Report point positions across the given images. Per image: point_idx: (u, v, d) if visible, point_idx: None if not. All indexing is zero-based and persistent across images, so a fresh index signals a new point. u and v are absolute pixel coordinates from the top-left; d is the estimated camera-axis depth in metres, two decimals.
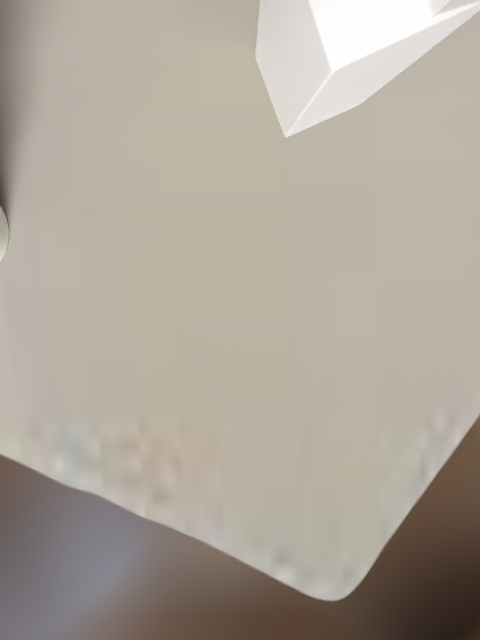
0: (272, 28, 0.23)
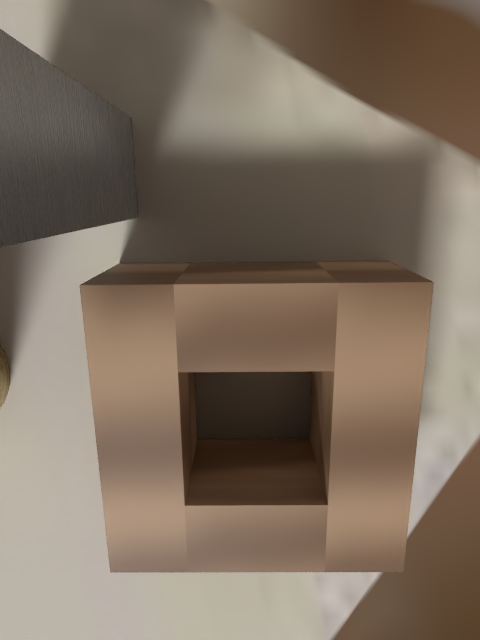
0: None
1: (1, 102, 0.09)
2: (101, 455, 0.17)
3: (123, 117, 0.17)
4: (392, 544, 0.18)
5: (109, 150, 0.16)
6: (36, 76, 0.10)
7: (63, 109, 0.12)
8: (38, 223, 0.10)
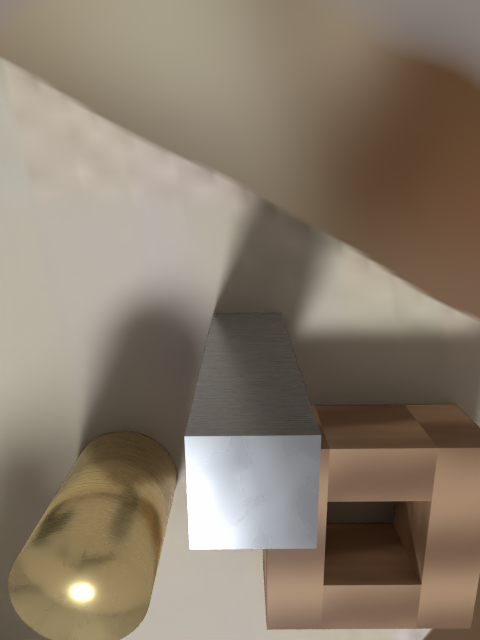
0: None
1: None
2: (270, 553, 0.25)
3: None
4: (464, 610, 0.26)
5: None
6: None
7: None
8: None
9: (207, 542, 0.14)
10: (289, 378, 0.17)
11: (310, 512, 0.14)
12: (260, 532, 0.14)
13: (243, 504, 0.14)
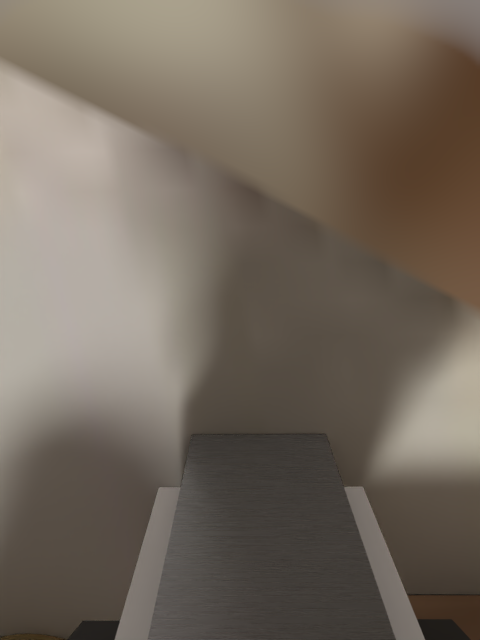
0: None
1: None
2: None
3: None
4: None
5: None
6: None
7: None
8: None
9: None
10: None
11: None
12: None
13: None
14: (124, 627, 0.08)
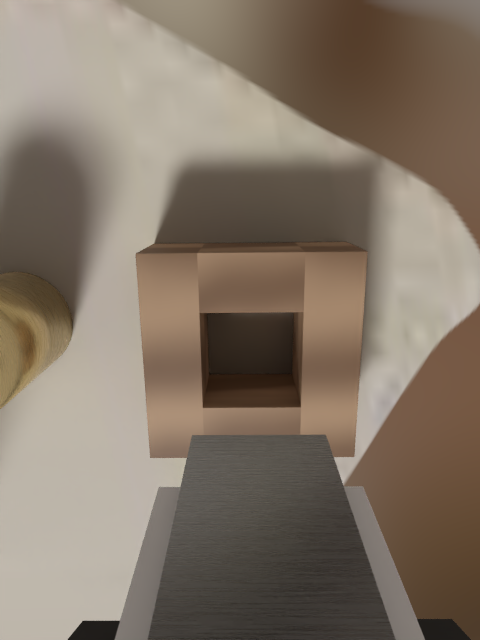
0: None
1: None
2: (146, 371, 0.25)
3: None
4: (346, 436, 0.26)
5: None
6: None
7: None
8: None
9: None
10: None
11: None
12: None
13: None
14: (124, 627, 0.08)
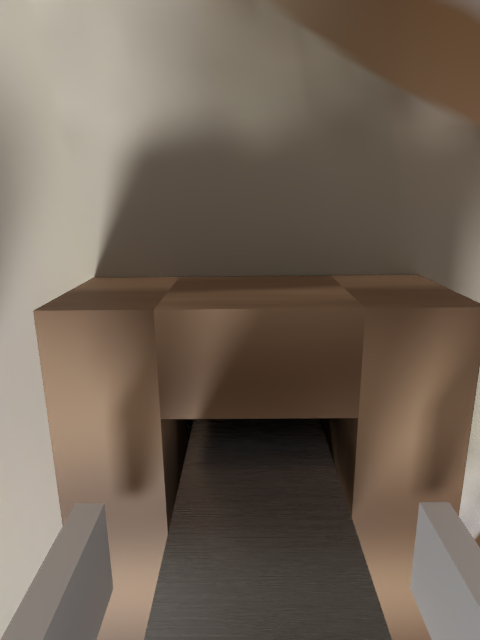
0: None
1: None
2: None
3: None
4: None
5: None
6: None
7: None
8: None
9: None
10: (345, 579, 0.08)
11: None
12: None
13: None
14: None
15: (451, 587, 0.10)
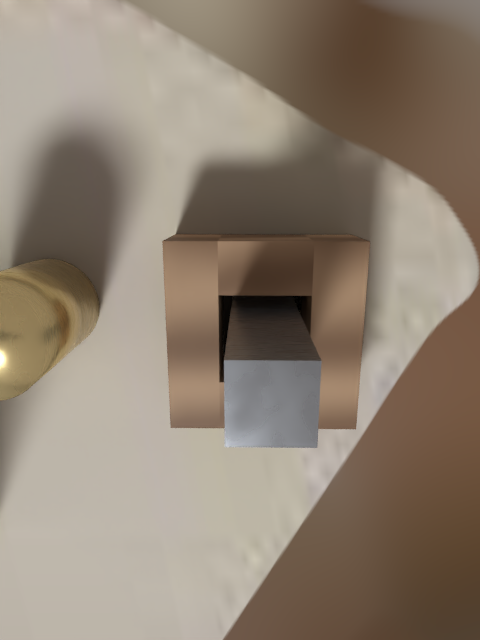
0: None
1: None
2: (169, 348, 0.28)
3: None
4: (348, 409, 0.29)
5: None
6: None
7: None
8: None
9: (237, 442, 0.20)
10: (298, 330, 0.23)
11: (313, 419, 0.19)
12: (276, 434, 0.19)
13: (265, 412, 0.19)
14: None
15: None
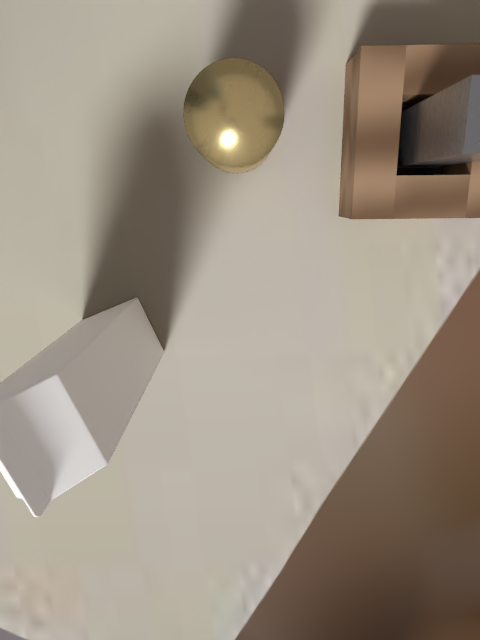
0: None
1: None
2: (358, 144, 0.34)
3: None
4: None
5: None
6: None
7: None
8: None
9: (473, 148, 0.25)
10: None
11: None
12: None
13: None
14: None
15: None
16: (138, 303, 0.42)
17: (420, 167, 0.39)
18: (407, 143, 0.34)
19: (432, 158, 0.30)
